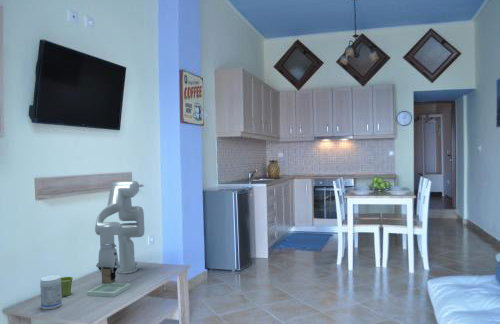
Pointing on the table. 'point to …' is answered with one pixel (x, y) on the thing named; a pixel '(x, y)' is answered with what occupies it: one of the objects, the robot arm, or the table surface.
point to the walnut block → (107, 276)
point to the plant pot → (66, 285)
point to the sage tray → (108, 289)
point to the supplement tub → (51, 292)
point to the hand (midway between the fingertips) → (108, 278)
